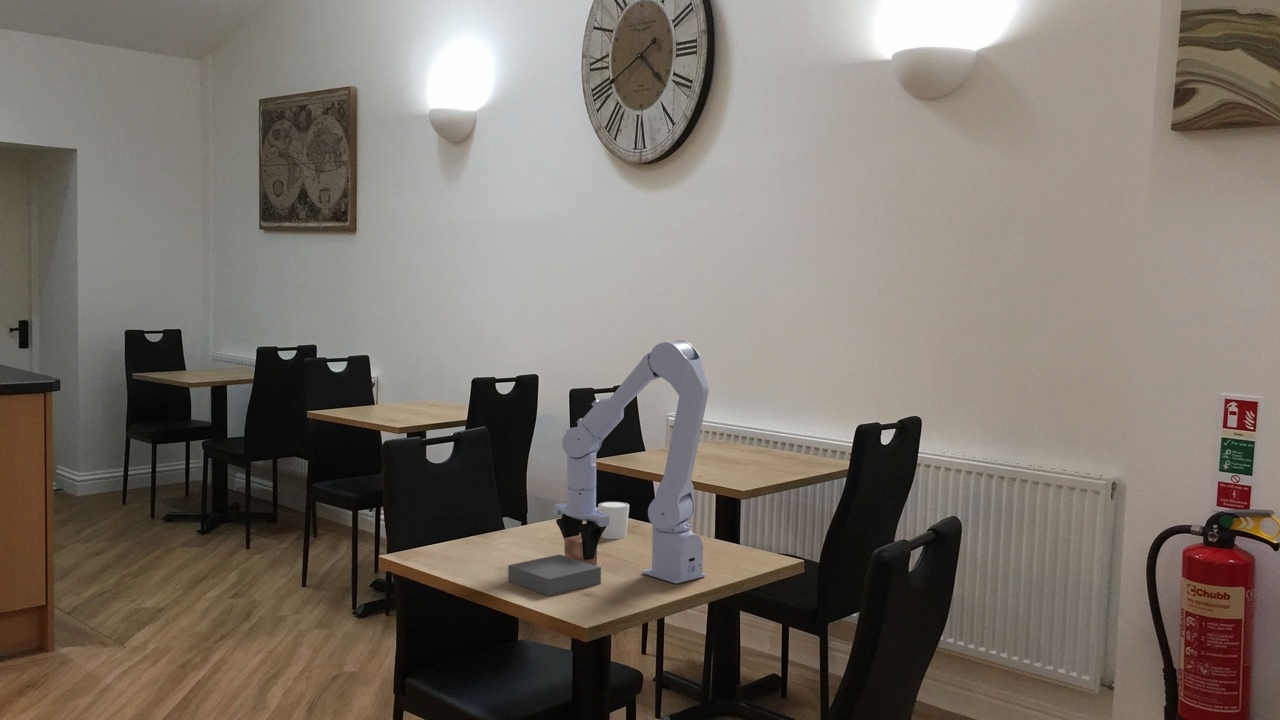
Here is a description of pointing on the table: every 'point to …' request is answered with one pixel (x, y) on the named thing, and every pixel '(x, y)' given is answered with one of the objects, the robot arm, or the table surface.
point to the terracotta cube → (577, 549)
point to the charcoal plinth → (554, 574)
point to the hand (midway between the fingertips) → (580, 556)
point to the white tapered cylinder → (615, 519)
